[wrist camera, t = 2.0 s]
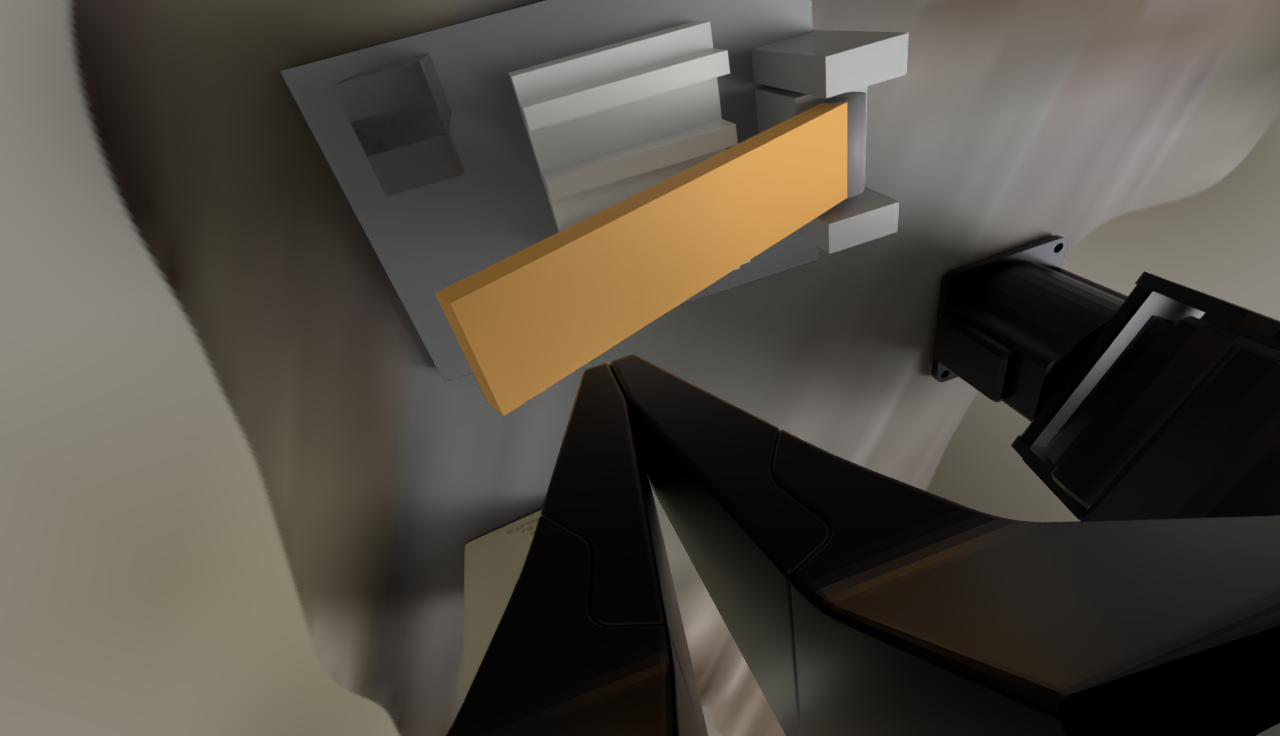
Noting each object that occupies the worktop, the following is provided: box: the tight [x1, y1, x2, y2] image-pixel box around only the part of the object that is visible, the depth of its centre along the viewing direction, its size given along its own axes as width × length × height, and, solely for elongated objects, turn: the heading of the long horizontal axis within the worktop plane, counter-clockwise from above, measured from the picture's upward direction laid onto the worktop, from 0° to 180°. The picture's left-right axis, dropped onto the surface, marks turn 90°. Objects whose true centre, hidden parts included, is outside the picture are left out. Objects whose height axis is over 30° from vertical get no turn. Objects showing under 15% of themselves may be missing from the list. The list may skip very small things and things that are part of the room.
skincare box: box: [462, 510, 541, 704], centre depth 24 cm, size 6×4×12 cm
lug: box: [332, 53, 464, 197], centre depth 15 cm, size 2×3×5 cm
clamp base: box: [280, 0, 909, 382], centre depth 18 cm, size 16×11×6 cm
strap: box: [435, 92, 866, 416], centre depth 14 cm, size 14×3×1 cm, turn 102°
